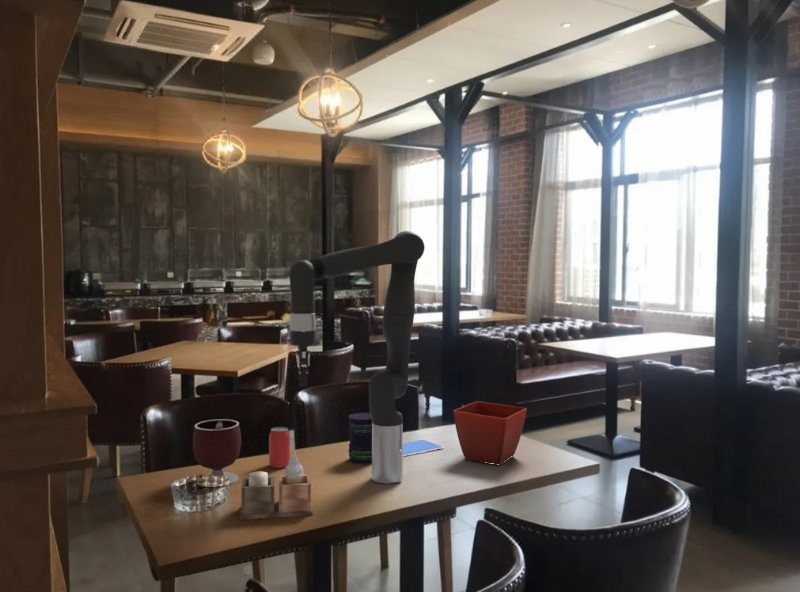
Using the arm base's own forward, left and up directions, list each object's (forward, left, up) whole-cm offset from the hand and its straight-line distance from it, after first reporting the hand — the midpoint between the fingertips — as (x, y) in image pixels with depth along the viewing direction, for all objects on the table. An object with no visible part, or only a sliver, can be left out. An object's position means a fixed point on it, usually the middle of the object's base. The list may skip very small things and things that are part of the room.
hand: (303, 383), depth 190 cm
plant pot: (-56, -33, -30) cm, 72 cm away
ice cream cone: (-2, +19, -29) cm, 35 cm away
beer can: (+12, -17, -30) cm, 37 cm away
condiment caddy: (+2, +20, -30) cm, 36 cm away
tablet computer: (-29, -41, -31) cm, 59 cm away
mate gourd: (+26, 0, -30) cm, 40 cm away
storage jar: (-14, -26, -30) cm, 42 cm away
